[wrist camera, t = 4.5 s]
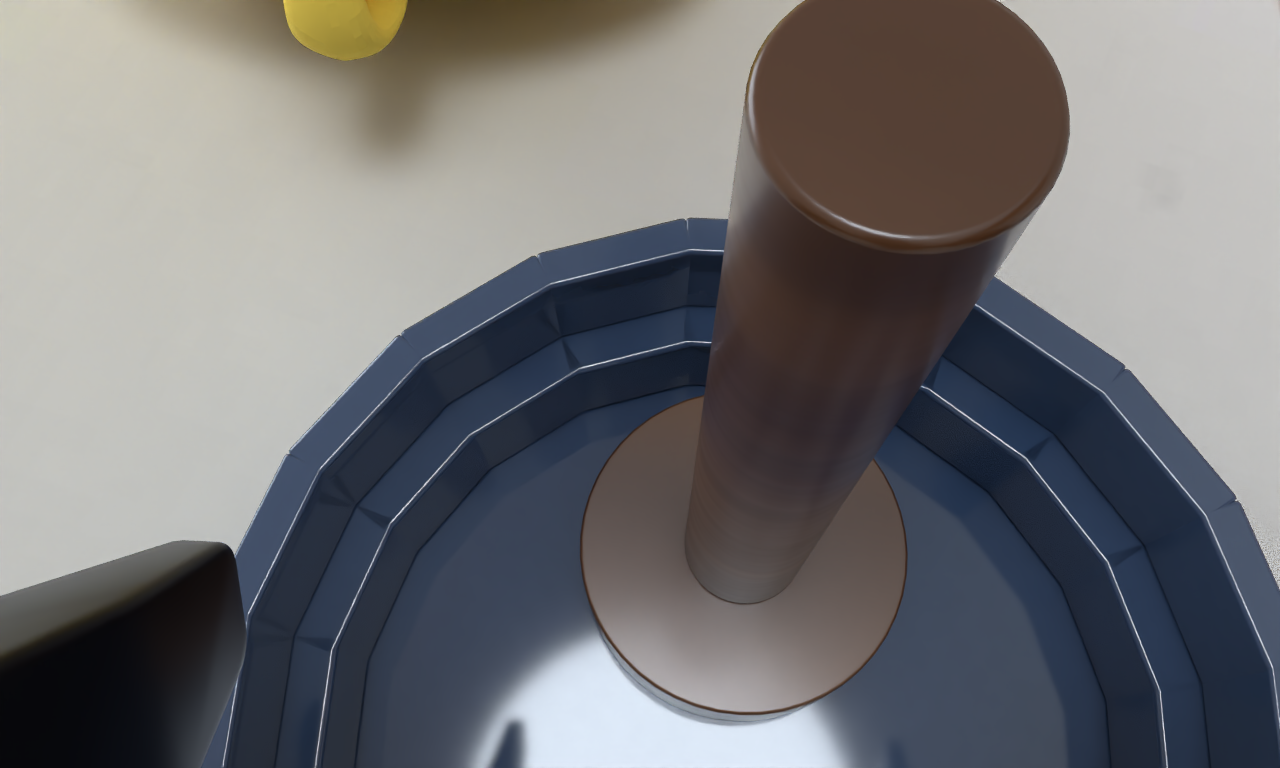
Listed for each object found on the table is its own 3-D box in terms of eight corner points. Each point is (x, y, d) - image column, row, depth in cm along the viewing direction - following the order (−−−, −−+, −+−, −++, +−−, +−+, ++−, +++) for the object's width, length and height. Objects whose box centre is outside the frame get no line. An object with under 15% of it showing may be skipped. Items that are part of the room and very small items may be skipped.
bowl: (1225, 1302, 16) (1429, 1481, 12) (217, 1236, 17) (68, 1387, 12) (1134, 352, 21) (1258, 240, 17) (352, 316, 21) (278, 197, 17)
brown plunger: (892, 729, 18) (1454, 576, 5) (574, 712, 18) (403, 524, 6) (886, 425, 20) (1307, -232, 7) (595, 411, 20) (501, -260, 7)
